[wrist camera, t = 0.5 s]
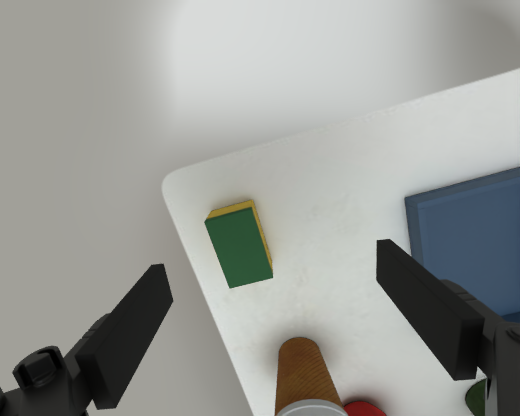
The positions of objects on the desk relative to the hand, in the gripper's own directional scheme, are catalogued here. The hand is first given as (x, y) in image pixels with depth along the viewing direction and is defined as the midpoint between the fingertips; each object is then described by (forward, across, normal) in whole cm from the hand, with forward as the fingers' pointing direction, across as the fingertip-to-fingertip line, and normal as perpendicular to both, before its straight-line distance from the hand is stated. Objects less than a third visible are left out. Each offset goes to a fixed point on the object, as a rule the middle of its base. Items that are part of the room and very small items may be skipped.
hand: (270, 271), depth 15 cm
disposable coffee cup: (+17, +2, -25) cm, 30 cm away
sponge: (+16, -4, -4) cm, 17 cm away
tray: (+16, +26, -11) cm, 33 cm away
